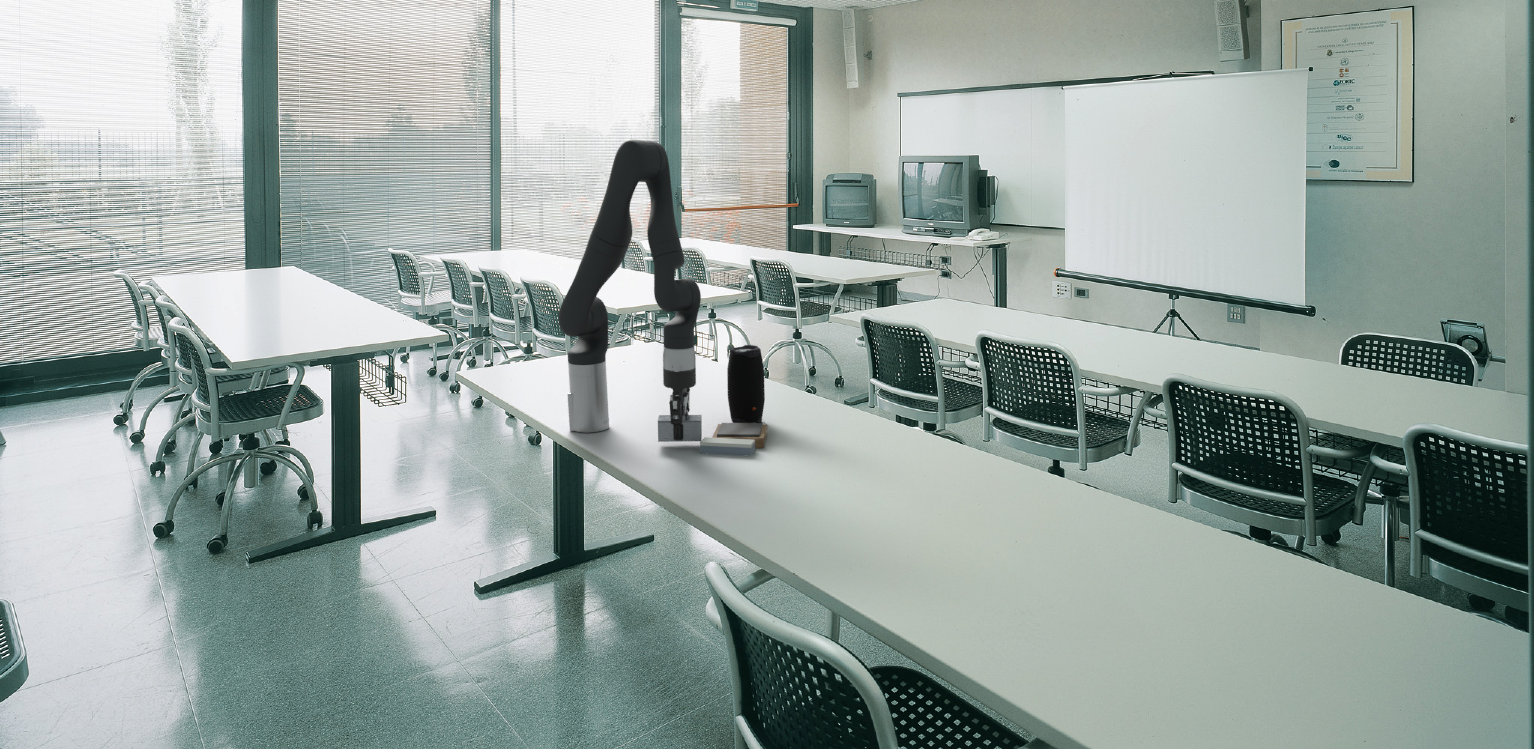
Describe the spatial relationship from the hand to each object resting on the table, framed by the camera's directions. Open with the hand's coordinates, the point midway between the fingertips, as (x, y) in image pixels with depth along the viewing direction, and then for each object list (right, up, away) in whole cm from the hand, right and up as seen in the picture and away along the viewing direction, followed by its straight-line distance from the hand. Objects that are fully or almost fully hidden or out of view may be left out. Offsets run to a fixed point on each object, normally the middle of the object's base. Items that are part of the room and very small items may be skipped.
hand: (680, 435), depth 224 cm
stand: (+14, -1, +4) cm, 15 cm away
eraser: (+11, -4, -4) cm, 13 cm away
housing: (0, -1, 0) cm, 1 cm away
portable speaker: (+15, +2, +20) cm, 25 cm away
